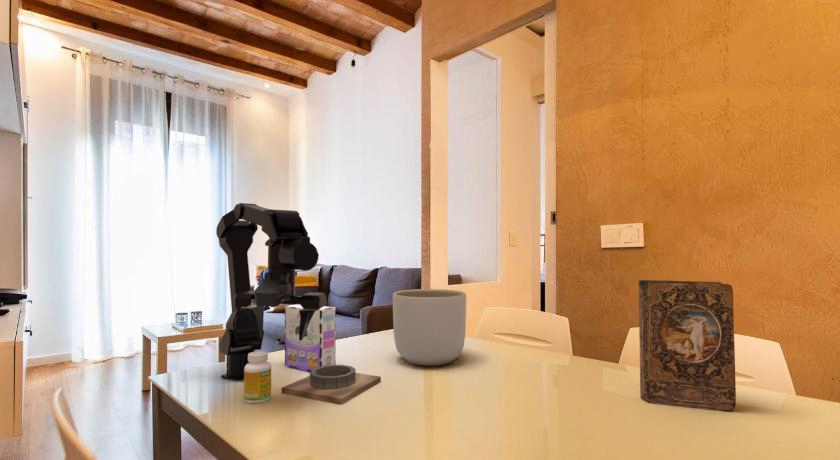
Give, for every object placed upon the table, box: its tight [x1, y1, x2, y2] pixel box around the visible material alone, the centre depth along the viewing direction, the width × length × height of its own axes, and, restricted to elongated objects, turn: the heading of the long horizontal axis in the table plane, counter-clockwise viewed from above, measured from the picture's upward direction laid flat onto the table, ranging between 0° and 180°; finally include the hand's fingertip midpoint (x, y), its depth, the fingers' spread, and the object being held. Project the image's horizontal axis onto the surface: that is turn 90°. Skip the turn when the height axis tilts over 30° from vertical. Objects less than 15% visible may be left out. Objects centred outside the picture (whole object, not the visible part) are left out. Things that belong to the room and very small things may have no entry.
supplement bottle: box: [243, 350, 272, 404], centre depth 92 cm, size 5×5×10 cm
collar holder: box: [281, 364, 382, 405], centre depth 99 cm, size 16×16×4 cm
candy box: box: [284, 304, 337, 373], centre depth 115 cm, size 14×6×16 cm, turn 58°
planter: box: [392, 288, 467, 367], centre depth 122 cm, size 21×21×19 cm
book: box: [638, 279, 737, 412], centre depth 90 cm, size 16×6×25 cm, turn 71°
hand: (280, 339), depth 93 cm, fingers open, 9 cm apart
